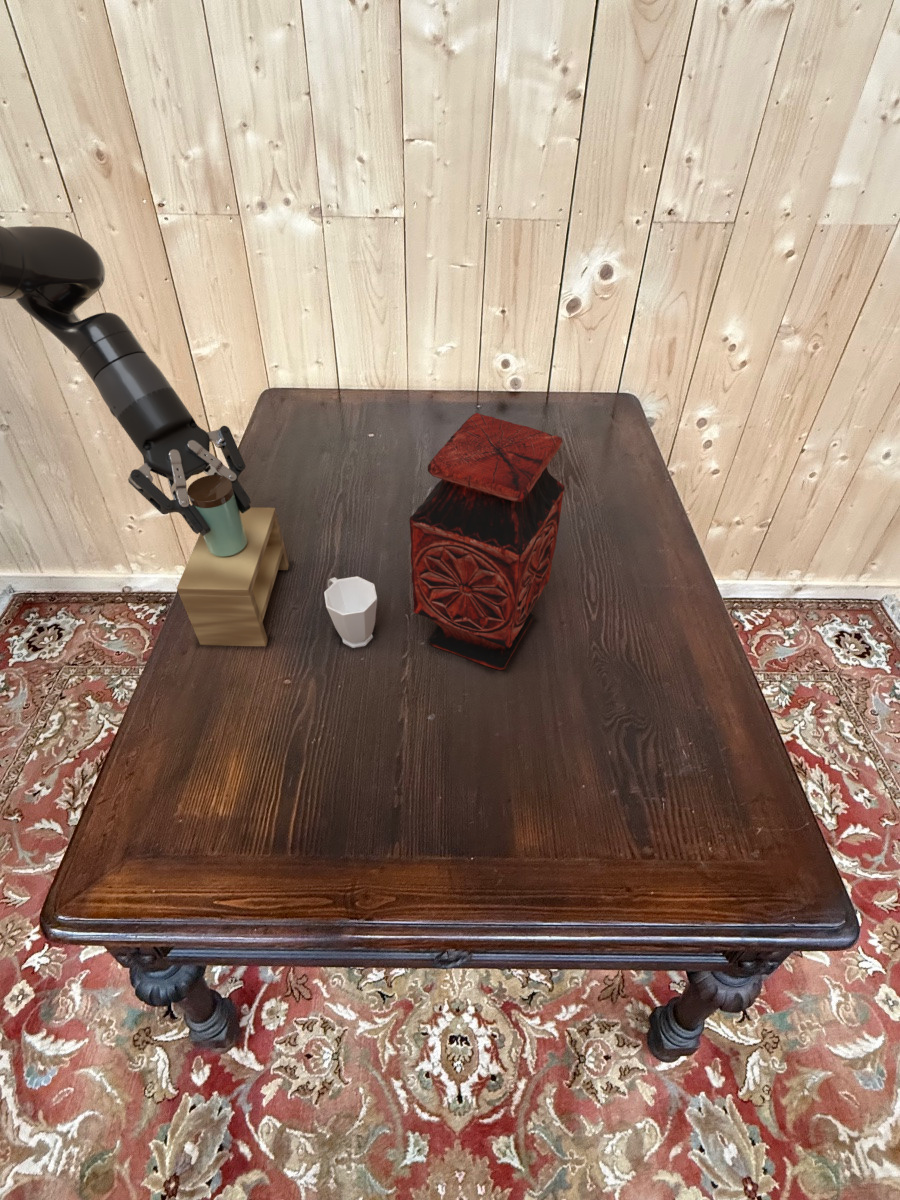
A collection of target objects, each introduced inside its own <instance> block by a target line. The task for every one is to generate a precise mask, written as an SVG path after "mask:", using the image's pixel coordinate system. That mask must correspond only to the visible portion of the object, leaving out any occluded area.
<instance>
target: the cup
mask: <svg viewBox="0 0 900 1200" xmlns="http://www.w3.org/2000/svg"><path fill="white" fill-rule="evenodd" d="M323 594H324V600H325V608H326V610H327V613H328V614H329V617H330V619H331V622H332V623H333V624H332V625H333V626H334V628H335V630H336V631H337V633H338V635H339V636H340V638H341V640H342V643H343V644H344V645H346V646H348V647H349V648H352V649H355V648H361V647H366V646H367V645H368V644H369V643H370V641H372V639H373V638H374V636H373V632H374V629H375V626H376V624H375V623H376V617H377V616H376V614H377V606H378V605H377V604H378V596H377V591H376V586H375V583H373V582H371V581H369V580H366V579H364V578H363V577H360V576H356V575H355V576H349V577H345V578H339V579H338V578H337V577H335V576H334V577H331V578H330V579H328V580H327V589H325V591H324V592H323Z"/></svg>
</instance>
